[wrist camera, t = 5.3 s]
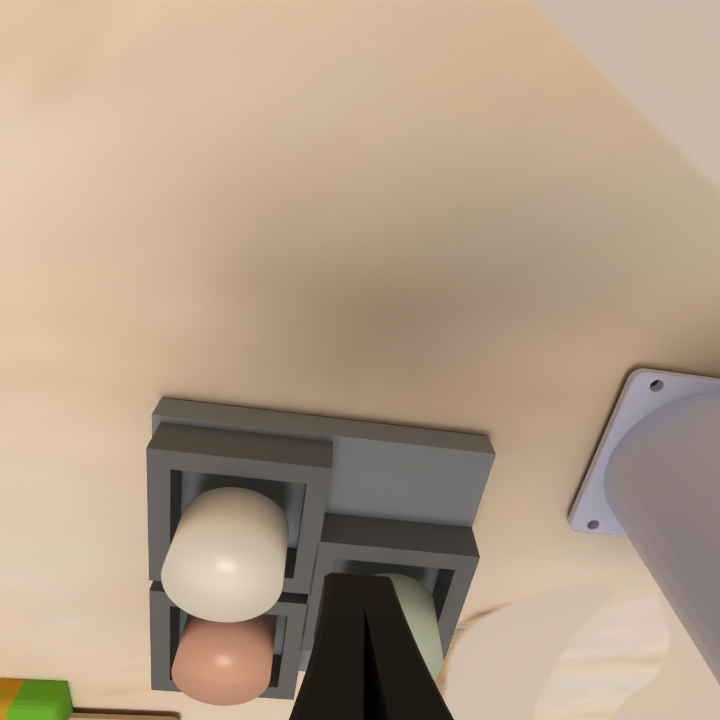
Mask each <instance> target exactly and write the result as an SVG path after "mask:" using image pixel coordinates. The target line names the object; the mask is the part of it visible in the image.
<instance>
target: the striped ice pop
mask: <svg viewBox="0 0 720 720" xmlns="http://www.w3.org/2000/svg"><path fill="white" fill-rule="evenodd" d="M0 720H179V719H178V718H176V717H170V716H144V715H118V714H91V713H74V711H73V706H72V702H71V697H70V692H69V687H68V682H67V681H50V680H28V679H5V678H0Z"/></svg>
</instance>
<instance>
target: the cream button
mask: <svg viewBox="0 0 720 720" xmlns="http://www.w3.org/2000/svg"><path fill="white" fill-rule="evenodd" d="M288 539H289V524H288V521H287V518H286V516H285V514H284V512H283V511H282V510H281V508H280V507H279V506H278V505H277V504H276V503H275V502H274V501H272V500H271V499H270V498H268V497H266V496H265V495H263V494H261V493H258V492H256V491H253V490H249V489H246V488H239V487H222V488H216V489H212V490H209V491H206V492H204V493H202V494H200V495H198V496H197V497H195V498H194V499H193V500H192V501H191V502H190V503H189V504H188V505H187V506H186V508H185V509H184V511H183V513H182V516H181V519H180V521H179V524H178V527H177V529H176V532H175V535H174V537H173V540H172V543H171V545H170V548H169V551H168V553H167V556H166V559H165V561H164V564H163V567H162V571H161V581H162V585H163V588H164V590H165V592H166V594H167V595H168V597H169V598H170V599H171V600H172V601H173V603H175V604H176V605H177V606H178V607H179V608H181V609H182V610H184V611H185V612H187V613H189V614H191V615H193V616H196V617H198V618H202V619H205V620H209V621H215V622H239V621H244V620H249V619H252V618H254V617H257V616H259V615H261V614H263V613H264V612H266V611H268V610H269V609H270V608H271V607H272V606H273V605H274V604H275V603H276V602H277V600H278V599H279V597H280V594H281V592H282V587H283V579H284V571H285V563H286V555H287V547H288Z"/></svg>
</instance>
